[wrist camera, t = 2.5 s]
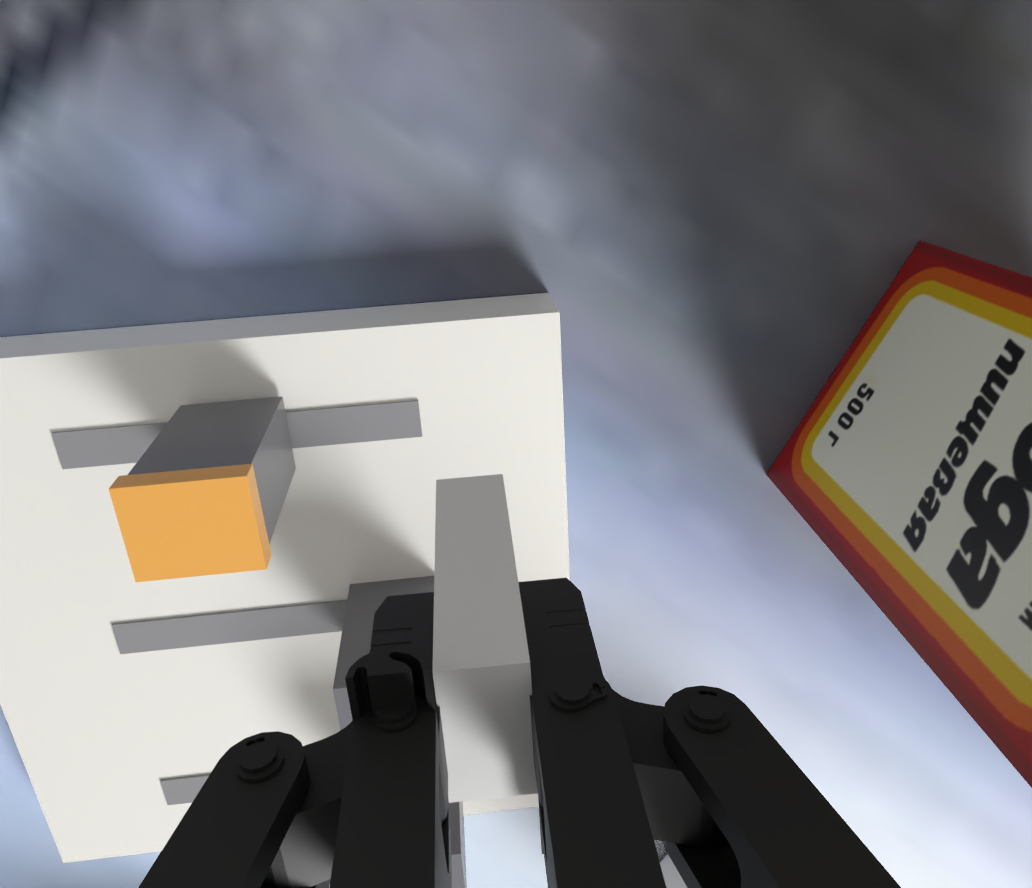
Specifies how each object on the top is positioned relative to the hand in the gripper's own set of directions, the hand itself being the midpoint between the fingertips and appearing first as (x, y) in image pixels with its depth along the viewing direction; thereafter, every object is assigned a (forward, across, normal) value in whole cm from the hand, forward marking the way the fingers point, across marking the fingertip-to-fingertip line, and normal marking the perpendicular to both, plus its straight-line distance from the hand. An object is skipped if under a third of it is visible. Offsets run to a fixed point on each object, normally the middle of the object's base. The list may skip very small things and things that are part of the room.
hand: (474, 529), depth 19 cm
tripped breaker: (+7, +7, 0) cm, 10 cm away
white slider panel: (+10, +7, +7) cm, 14 cm away
